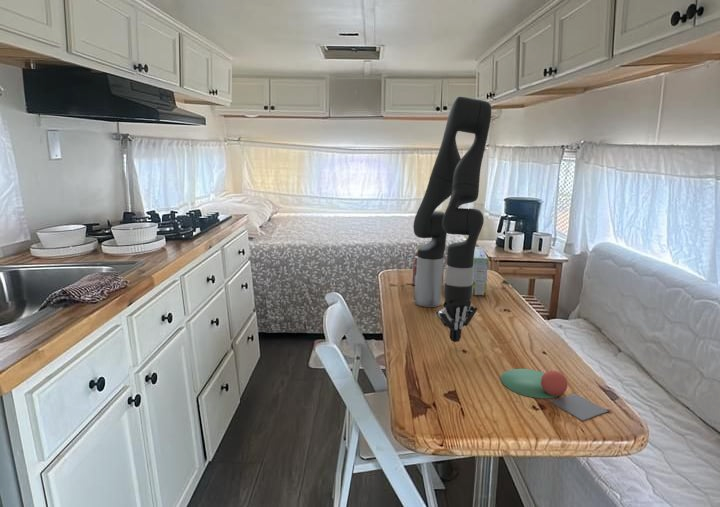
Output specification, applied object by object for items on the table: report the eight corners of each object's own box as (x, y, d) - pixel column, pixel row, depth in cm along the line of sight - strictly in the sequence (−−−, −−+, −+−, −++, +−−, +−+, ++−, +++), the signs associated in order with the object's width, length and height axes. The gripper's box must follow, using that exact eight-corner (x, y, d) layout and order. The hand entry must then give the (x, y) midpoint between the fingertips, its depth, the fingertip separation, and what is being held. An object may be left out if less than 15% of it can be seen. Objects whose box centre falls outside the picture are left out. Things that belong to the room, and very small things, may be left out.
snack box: (466, 280, 196) (469, 246, 192) (480, 281, 195) (482, 246, 192) (471, 295, 175) (474, 257, 172) (486, 296, 174) (489, 258, 171)
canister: (439, 280, 195) (441, 239, 191) (446, 289, 182) (449, 246, 179) (409, 280, 194) (411, 239, 191) (414, 289, 182) (416, 245, 178)
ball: (541, 399, 103) (532, 375, 105) (557, 393, 106) (548, 369, 107) (559, 397, 98) (549, 372, 100) (576, 390, 101) (566, 366, 102)
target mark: (488, 376, 111) (488, 375, 111) (530, 365, 117) (530, 364, 117) (533, 404, 99) (533, 403, 99) (577, 390, 105) (577, 389, 105)
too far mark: (550, 402, 100) (550, 401, 100) (575, 394, 104) (575, 393, 104) (582, 421, 93) (582, 420, 93) (607, 411, 97) (608, 410, 97)
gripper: (468, 275, 131) (464, 332, 135) (430, 280, 125) (427, 340, 129) (487, 282, 124) (482, 341, 128) (447, 287, 118) (444, 350, 122)
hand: (454, 340), depth 128 cm, fingers closed
